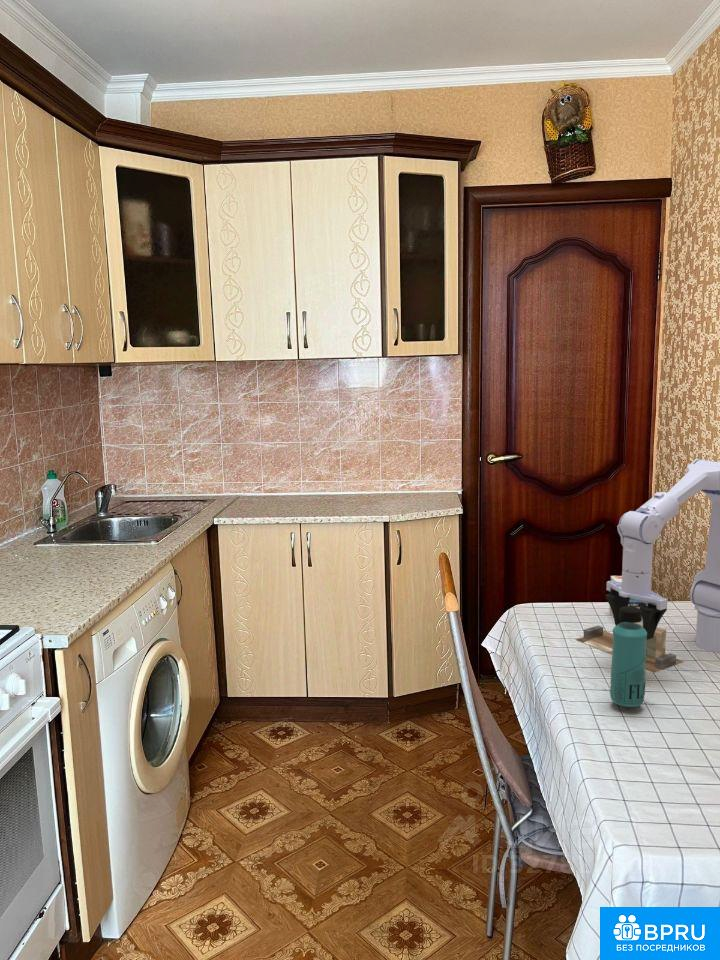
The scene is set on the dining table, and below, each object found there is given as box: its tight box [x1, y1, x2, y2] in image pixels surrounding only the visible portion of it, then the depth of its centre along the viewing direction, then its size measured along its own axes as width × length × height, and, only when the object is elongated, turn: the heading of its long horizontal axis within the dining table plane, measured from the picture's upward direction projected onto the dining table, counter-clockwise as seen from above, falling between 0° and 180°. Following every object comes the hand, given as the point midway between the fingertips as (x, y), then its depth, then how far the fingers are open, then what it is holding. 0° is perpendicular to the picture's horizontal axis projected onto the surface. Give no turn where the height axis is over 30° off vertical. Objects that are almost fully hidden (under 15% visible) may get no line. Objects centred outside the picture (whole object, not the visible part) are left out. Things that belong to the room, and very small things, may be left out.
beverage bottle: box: [609, 606, 647, 708], centre depth 146 cm, size 6×7×20 cm
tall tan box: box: [637, 623, 667, 663], centre depth 168 cm, size 3×7×7 cm, turn 46°
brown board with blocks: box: [575, 625, 685, 674], centre depth 173 cm, size 10×22×3 cm, turn 32°
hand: (634, 632), depth 159 cm, fingers open, 7 cm apart
